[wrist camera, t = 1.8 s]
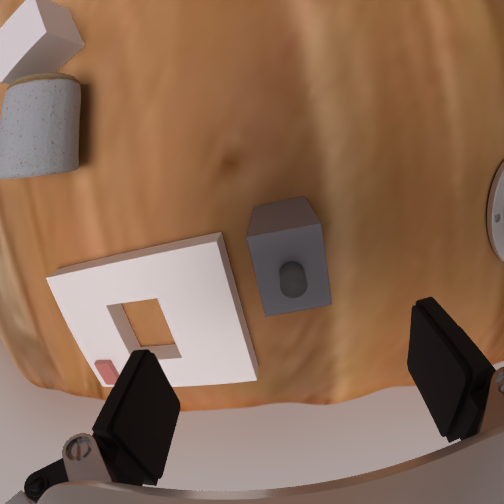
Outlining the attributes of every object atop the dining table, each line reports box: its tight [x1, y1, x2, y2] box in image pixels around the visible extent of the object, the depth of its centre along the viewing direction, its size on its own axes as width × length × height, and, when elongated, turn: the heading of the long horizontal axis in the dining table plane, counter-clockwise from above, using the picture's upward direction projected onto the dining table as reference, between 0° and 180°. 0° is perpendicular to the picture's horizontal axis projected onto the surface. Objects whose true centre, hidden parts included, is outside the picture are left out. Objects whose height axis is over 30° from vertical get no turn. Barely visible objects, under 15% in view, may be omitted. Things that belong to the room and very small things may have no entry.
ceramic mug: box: [0, 73, 81, 179], centre depth 18 cm, size 11×8×8 cm
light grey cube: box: [0, 0, 85, 84], centre depth 16 cm, size 6×6×6 cm
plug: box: [246, 196, 332, 316], centre depth 20 cm, size 4×5×10 cm
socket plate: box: [46, 232, 258, 387], centre depth 27 cm, size 18×14×3 cm
